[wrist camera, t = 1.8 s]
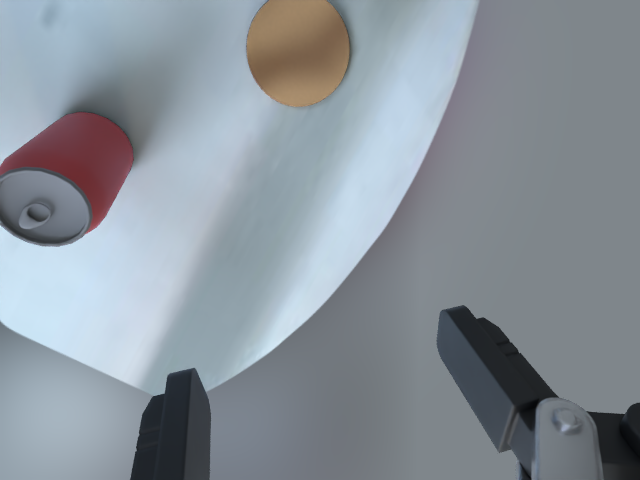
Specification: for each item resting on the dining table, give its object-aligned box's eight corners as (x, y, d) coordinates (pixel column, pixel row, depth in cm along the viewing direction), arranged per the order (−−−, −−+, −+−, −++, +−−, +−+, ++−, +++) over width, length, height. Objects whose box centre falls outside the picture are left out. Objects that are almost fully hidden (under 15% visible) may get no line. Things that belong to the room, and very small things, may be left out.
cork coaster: (223, 45, 32) (223, 45, 31) (304, -37, 30) (305, -38, 30) (293, 125, 37) (294, 126, 36) (367, 58, 35) (368, 59, 34)
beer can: (33, 143, 33) (-50, 206, 23) (86, 93, 31) (24, 136, 22) (101, 196, 36) (55, 270, 26) (151, 152, 35) (123, 213, 25)
